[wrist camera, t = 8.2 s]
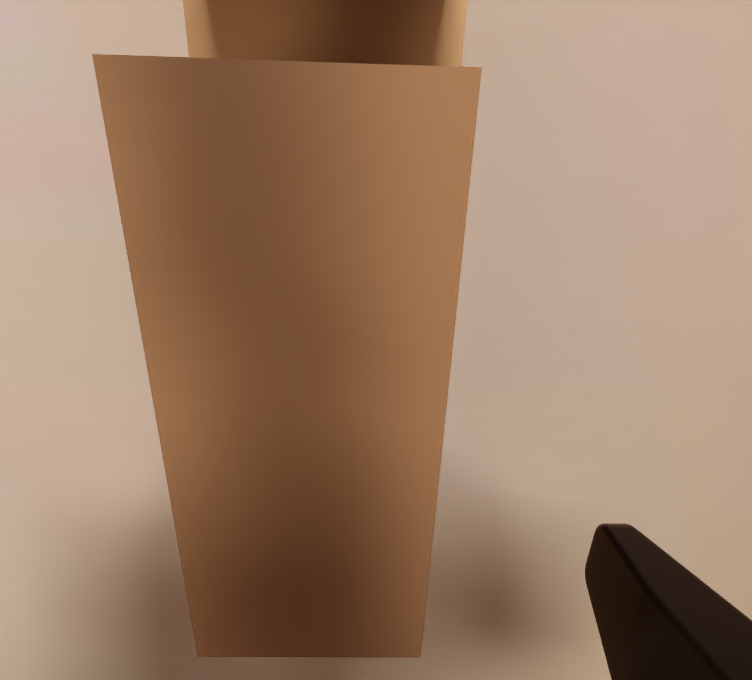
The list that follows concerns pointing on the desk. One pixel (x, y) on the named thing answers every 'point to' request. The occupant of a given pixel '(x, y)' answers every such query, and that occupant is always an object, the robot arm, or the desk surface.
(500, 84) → the desk surface
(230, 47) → the peg frame
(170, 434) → the brown rectangular block
